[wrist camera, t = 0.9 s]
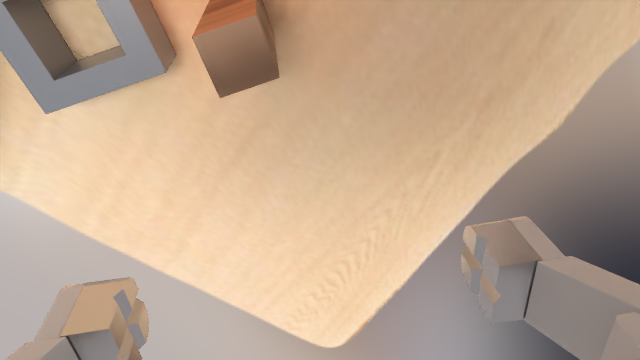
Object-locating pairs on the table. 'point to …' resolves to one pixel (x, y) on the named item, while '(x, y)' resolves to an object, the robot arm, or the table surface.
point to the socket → (89, 73)
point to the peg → (236, 45)
